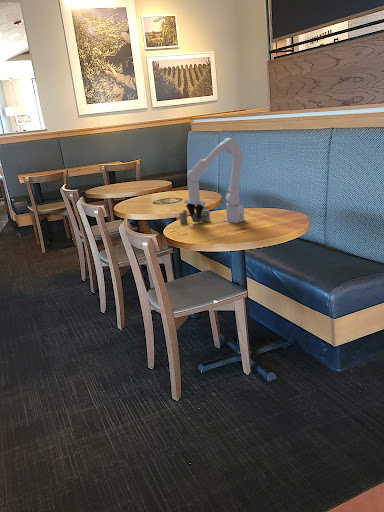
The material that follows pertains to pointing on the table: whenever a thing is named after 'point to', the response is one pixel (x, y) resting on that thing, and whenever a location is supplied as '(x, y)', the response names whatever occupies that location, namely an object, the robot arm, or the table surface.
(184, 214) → the door frame
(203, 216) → the wedge
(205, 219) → the door
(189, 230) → the table surface
